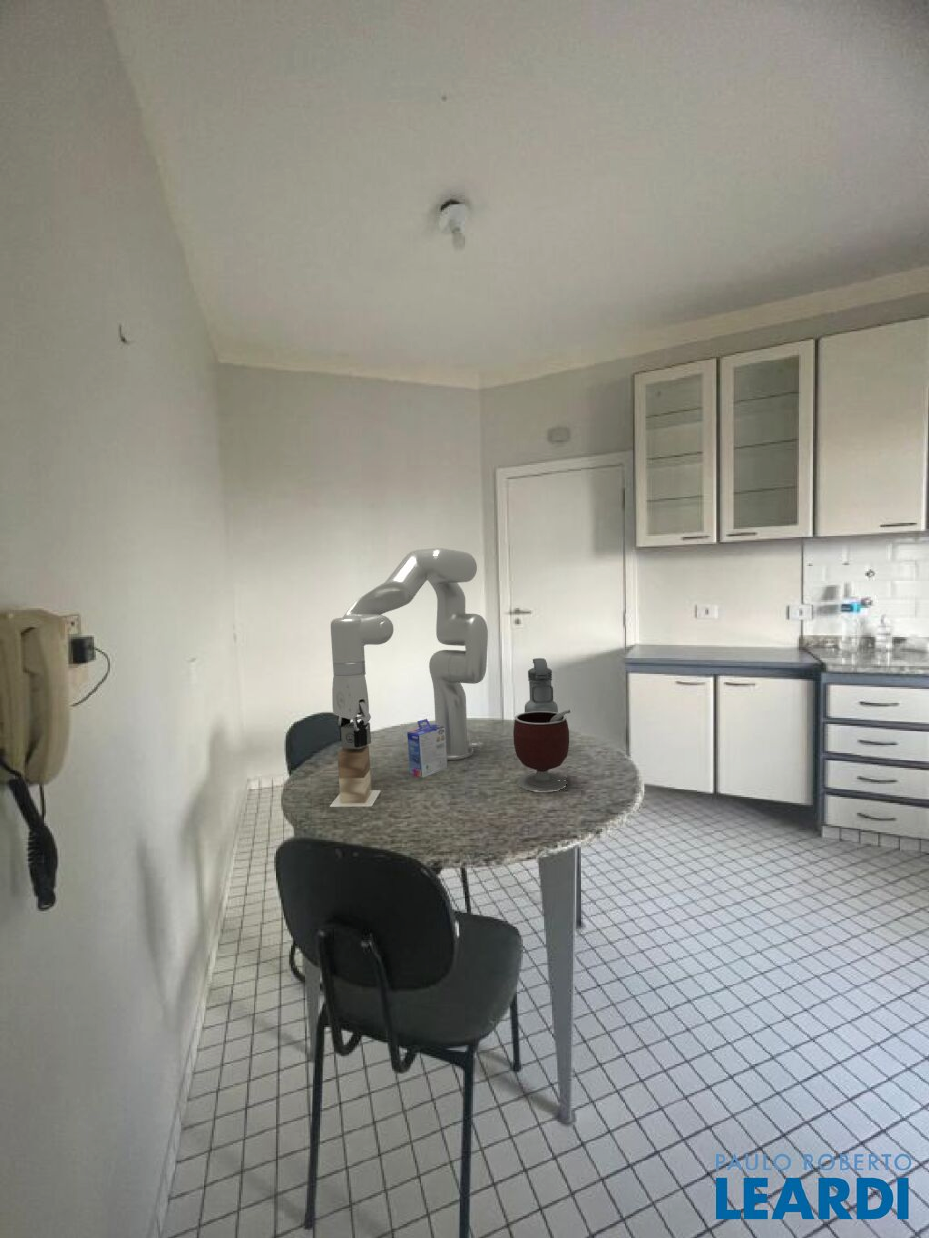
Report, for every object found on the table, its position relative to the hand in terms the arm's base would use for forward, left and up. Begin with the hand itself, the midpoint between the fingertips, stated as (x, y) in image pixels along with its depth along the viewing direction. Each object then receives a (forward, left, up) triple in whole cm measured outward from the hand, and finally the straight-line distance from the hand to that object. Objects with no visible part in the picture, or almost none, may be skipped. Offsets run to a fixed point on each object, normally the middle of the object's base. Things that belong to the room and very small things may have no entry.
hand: (353, 742), depth 133 cm
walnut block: (0, 0, -8) cm, 8 cm away
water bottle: (-47, -34, -14) cm, 60 cm away
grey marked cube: (-1, 0, -1) cm, 1 cm away
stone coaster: (0, 0, -14) cm, 14 cm away
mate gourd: (-46, -9, -14) cm, 49 cm away
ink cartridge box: (-15, -19, -14) cm, 28 cm away
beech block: (0, 0, -14) cm, 14 cm away
